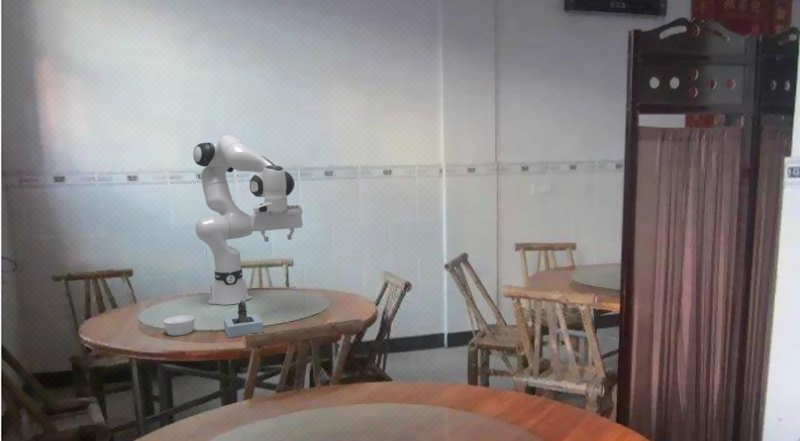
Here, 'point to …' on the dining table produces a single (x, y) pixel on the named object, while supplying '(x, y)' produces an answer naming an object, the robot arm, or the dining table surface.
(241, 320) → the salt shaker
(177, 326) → the ramekin
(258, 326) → the caddy block
